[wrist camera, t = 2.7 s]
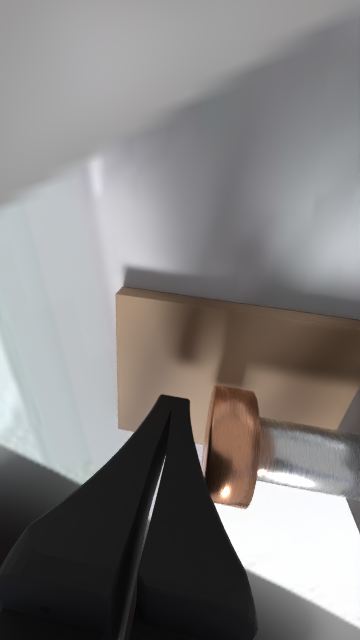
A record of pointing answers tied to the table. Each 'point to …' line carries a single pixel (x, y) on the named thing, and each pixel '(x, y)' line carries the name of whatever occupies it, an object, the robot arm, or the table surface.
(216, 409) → the shaft
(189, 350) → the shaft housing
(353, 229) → the table surface
